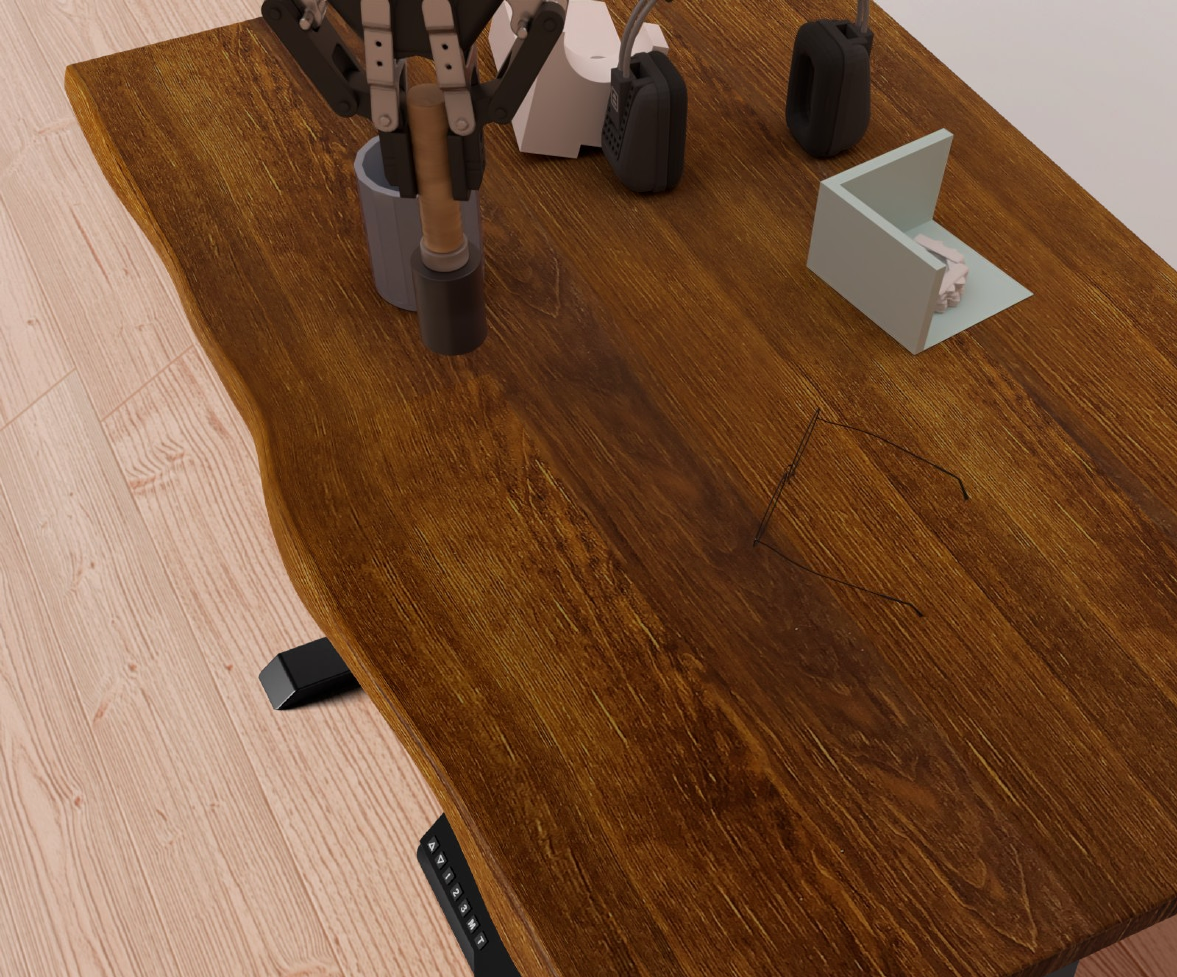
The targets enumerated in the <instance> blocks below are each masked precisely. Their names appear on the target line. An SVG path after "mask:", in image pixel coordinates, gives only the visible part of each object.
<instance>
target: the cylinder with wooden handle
mask: <svg viewBox="0 0 1177 977" xmlns="http://www.w3.org/2000/svg"><path fill="white" fill-rule="evenodd" d="M405 100H406V108H407V116H408V123H409V130H410V138H411V146H412V154H413V162H414V170H415V178H416V185H417V193H418V202H419V210H420V218H421V225H422V233H423V237H422V239H421V241H420V245H418V246H417V247H416V248H415V249H414V251H413V252H412V254H411V257H410V264H411V272H412V279H413V286H414V293H415V300H416V307H417V312H416V314H417V321H418V328H419V336H420V340H421V342H422V344H423V345H424V347H426V348H427V349H428V350H429V351H431V352H433V353H435V354H438V355H442V356H446V357H447V356H448V357H457V356H463V355H467V354H470V353H472V352H474V351H476V350H477V349H479V348H480V347H481V346H482V345H483V344H484V343H485V341H486V340H487V336H488V325H487V324H488V320H487V311H486V310H487V308H486V298H485V288H484V287H485V286H484V285H485V284H484V281H483V273H482V262H481V253H480V251H479V249H478V248H477V246H476V245H475V244H473V243H472V242H470V241H469V240H467V237H466V236H465V234H464V233H463V228H462V218H461V207H460V201H454V200H453V193H452V183H451V173H450V164H449V154H448V144H447V132H448V129H449V122H448V117H447V111H446V106H445V101H444V96H443V91H442V90H440V89H439V85H438V83H428V82H427V83H421V84H417V85H415V86H412V87H411V88H409V89H408V92H407V93H406V96H405Z"/></svg>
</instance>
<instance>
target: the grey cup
mask: <svg viewBox="0 0 1177 977" xmlns="http://www.w3.org/2000/svg"><path fill="white" fill-rule="evenodd" d="M353 171H354V177H355V183H356V189H357V196H358V200H359V207H360V212H361V218H362V224H363V231H364V236H365V242H366V248H367V253H368V254H367V255H368V260H369V266H370V271H371V275H372V278H373V283H374V287H375V290H376V291H377V293H378V294H379V296H380V297H381V298H382V299H383V300H384V301H386V303H389V304H391V305H392V306H394V307H397V308H399V309H402V310H406V311H409V312H416V313H417V307H416V300H415V293H414V286H413V279H412V272H411V264H410V257H411V254H412V252H413V251H414V249H415V248H416V247H417V246H418V245H420V241H421V239H422V237H423V233H422V225H421V218H420V210H419V202H418V194H417V197H416V199H411V198H401V197H400V193H399V186H390V185H389V183H388V181H387V179H386V178H385V174H384V168H383V161H382V154H381V147H380V141H379V134H378V135H376V136H374V137H372V138H370V139H369V140H368V141H367V142H366V143H365V144H364V145H363V146H362V147H360V149H359V150H357V153H356V155H355V160H354V162H353ZM480 198H481V197H480V189H479V190H472V191H471V195H470V199H469V201H460V207H461V218H462V228H463V233H464V234H465V236H466V237H467V240H469V241H470V242H472V243H473V244H475V245H476V246H477V248H478V249H479V251H480V253H481V262H482V273H483V282H484V281H485V276H486V270H485V269H486V259H485V247H484V235H483V234H484V232H483V222H482V210H481V209H482V208H481V199H480Z"/></svg>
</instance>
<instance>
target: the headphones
mask: <svg viewBox="0 0 1177 977" xmlns="http://www.w3.org/2000/svg"><path fill="white" fill-rule="evenodd" d="M664 1H665V2H666V3H668V4H670V3H672V2H673V1H674V0H664ZM856 1H857V3H856V4H857V5H856V14H855V15H856V16H855V21H854V22H851V20H850V19H838V18H837V19H836V18H830V19H829V18H826V17H825V18H818V19H817V20H815V21H807V22H805V23H803V24H801V25H800V27H798V29H797V32H796V35H795V38H794V42H793V49H792V54H791V55H792V56H791V62H790V68H789V74H788V75H789V76H788V82H787V91H786V101H785V110H784V111H785V112H784V117H785V122H786V123H785V124H786V127H787V128H788V130H789V131H790V132H791V134H792V135H793V137H794V139H795V140H796V141H797V142H798V143H799V145H800V146H801V147H802V148H803V150H804V151H805V152H806V153H807V154H808V155H811V156H812V157H815V158H819V157H822V156H826V157H833V156H837V155H838V154H839V153H840V152H842V151H847V150H849V149H851V148H853V147H855V146H856V145H857V144H858V143H860V141H861V140H862V139H863V138H864V136H865V134H866V132H867V130H868V128H869V126H870V122H871V115H872V112H871V110H872V109H871V108H872V107H871V106H872V104H871V102H872V100H871V99H872V98H871V96H872V94H871V93H872V92H871V90H872V89H871V88H872V87H871V83H872V82H871V63H870V59H871V55H872V54H871V53H872V48H873V44H874V37H875V33H874V31H873V30H872V29H871V28H870V27H869V20H870V0H856ZM658 2H659V0H639V1H638V2H637V4H636V5H635V7H634V9H633V10H632V12H631V14H630V16H629V18H628V20H627V22H626V25H625V27H624V30H623V34H622V36H621V39H620V42H621V45H620V52H619V62H618V66H617V67H616V68H611V91H610V95H609V99H608V104H607V109H606V114H605V119H604V124H603V129H602V135H601V146H602V147H601V150H602V153H603V155H604V157H605V159H606V160H607V162H608V164H609V165H610V167H611V169H612V171H613V172H614V174H615V176H616V177H617V178H618V180H619V181H620V182H621V183H622V184H623V185H624V186H625V187H626V188H627V189H629V190H630V191H633V192H637V193H638V192H642V193H645V192H649V191H651V192H653V193H660V192H664V191H665V190H666V189H668V188H669V189H670V188H674V187H676V186H677V185H678V184H679V183H680V181H681V179H682V177H683V174H684V167H685V154H686V141H687V139H686V138H687V127H688V126H687V125H688V106H689V98H688V97H689V96H688V94H689V93H688V88H687V84H686V82H685V79H684V78H683V77H682V75H681V73H680V72H679V70H678V68H677V67H676V66H675V64H674V63H673V62H672V60H671V58H669V57H668V55H667V56H666V55H665V54H664V53H662V52H660V51H658V50H653V51H650V52H648V53H646V52H640V53H636V54H634V55H633V56H631V53H632V48H633V45H634V41H635V38H636V37H637V35H638V33H639V32H640V30H641V27H642V25H643V22H644V21H645V19H646V18H647V16H648V15H649V14H650V12H651V10H652V9H653V8H654V6H655V5H656V4H657V3H658Z"/></svg>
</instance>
